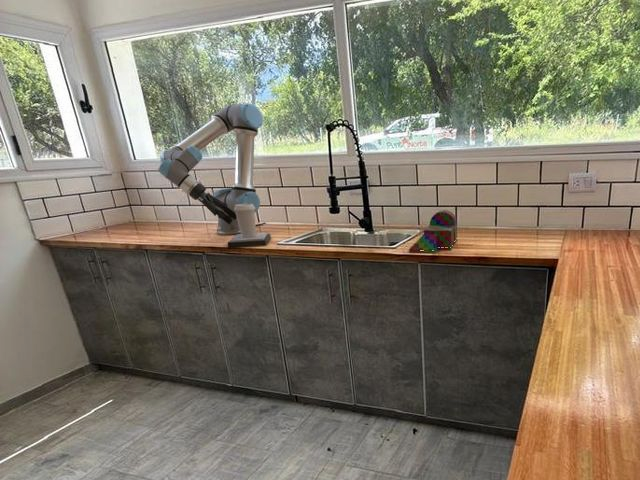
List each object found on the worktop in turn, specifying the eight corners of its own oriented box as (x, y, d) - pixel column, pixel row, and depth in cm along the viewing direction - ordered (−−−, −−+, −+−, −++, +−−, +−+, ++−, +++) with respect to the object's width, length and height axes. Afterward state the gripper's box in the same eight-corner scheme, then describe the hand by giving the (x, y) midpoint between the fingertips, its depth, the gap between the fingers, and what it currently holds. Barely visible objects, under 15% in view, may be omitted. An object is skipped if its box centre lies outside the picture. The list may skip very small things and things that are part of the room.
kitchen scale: (235, 240, 224) (234, 234, 223) (271, 238, 226) (270, 232, 225) (228, 247, 208) (226, 241, 207) (266, 245, 210) (265, 238, 209)
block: (421, 240, 212) (420, 209, 207) (456, 240, 209) (456, 209, 204) (409, 252, 189) (408, 218, 184) (449, 253, 186) (449, 218, 181)
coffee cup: (262, 234, 220) (258, 203, 214) (254, 238, 211) (249, 205, 205) (244, 234, 221) (238, 203, 215) (234, 238, 212) (229, 206, 206)
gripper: (195, 192, 216) (234, 221, 224) (180, 197, 193) (223, 230, 201) (205, 180, 215) (243, 210, 223) (190, 184, 192) (233, 217, 200)
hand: (234, 219), depth 212 cm, fingers open, 13 cm apart
